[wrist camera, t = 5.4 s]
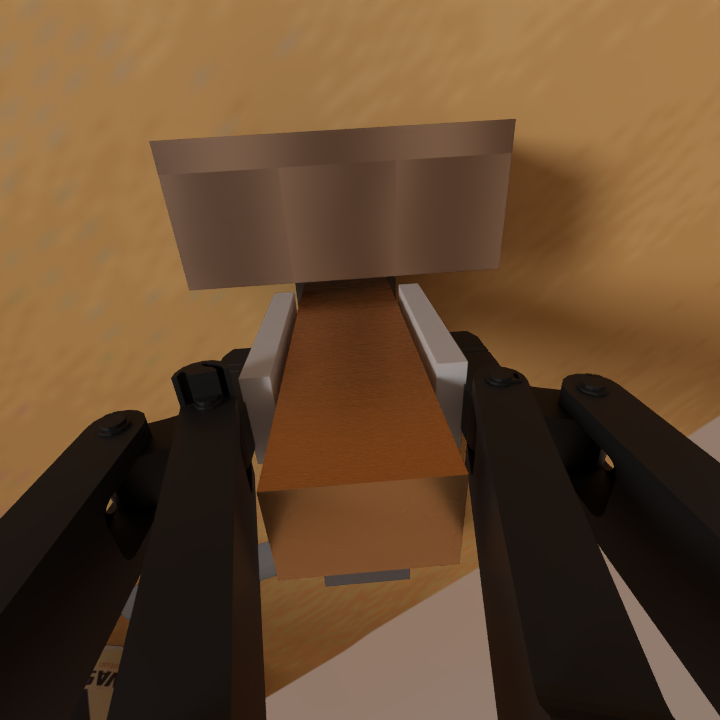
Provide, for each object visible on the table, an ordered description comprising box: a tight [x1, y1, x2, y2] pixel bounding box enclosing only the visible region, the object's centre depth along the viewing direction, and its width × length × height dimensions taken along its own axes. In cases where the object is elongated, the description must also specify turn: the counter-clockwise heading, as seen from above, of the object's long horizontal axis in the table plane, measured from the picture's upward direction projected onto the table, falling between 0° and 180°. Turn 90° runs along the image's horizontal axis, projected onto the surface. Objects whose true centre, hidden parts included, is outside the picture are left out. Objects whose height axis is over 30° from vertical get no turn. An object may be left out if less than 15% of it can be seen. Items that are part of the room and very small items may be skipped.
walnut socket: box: [149, 119, 516, 290], centre depth 17 cm, size 12×5×7 cm, turn 93°
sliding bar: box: [257, 276, 469, 580], centre depth 17 cm, size 4×20×16 cm, turn 3°
